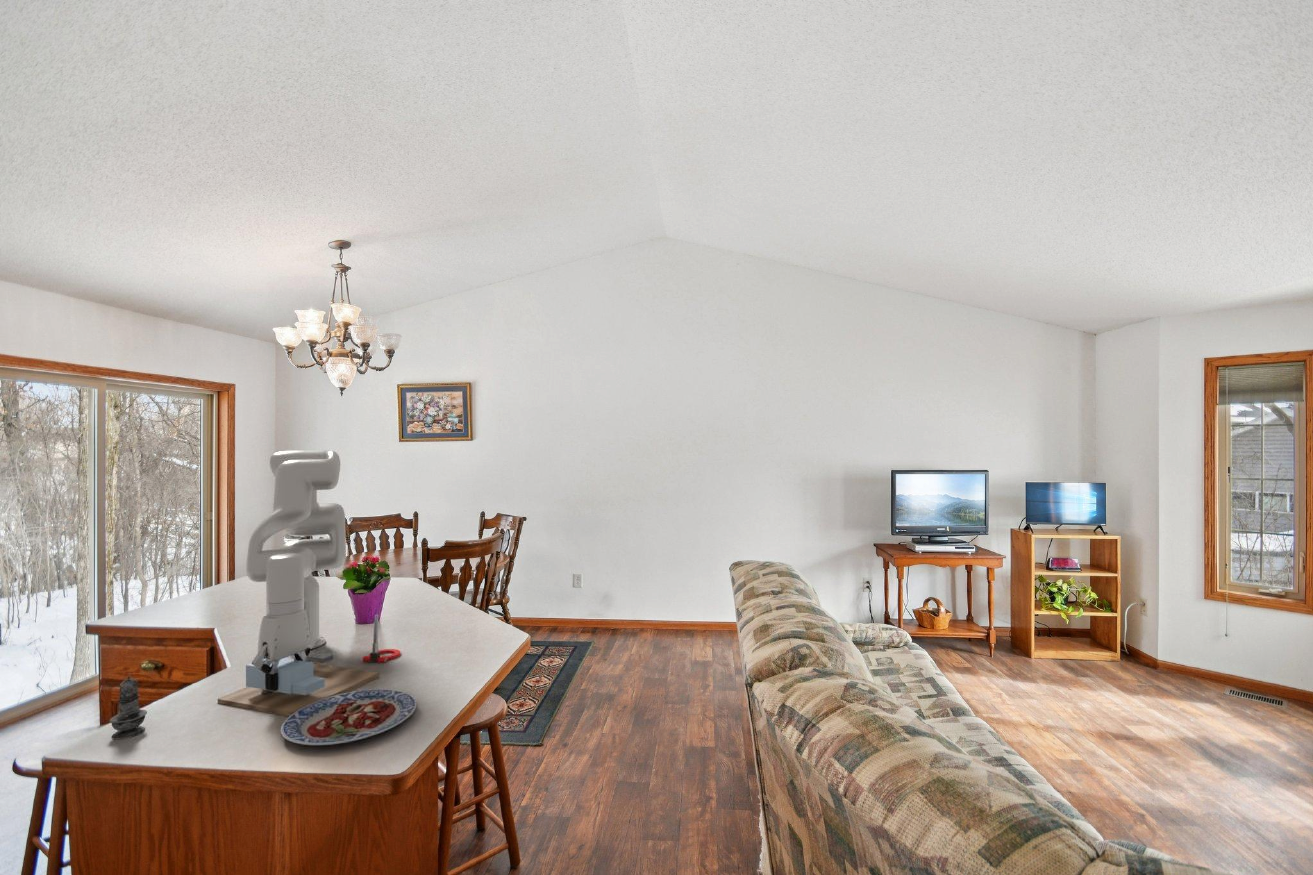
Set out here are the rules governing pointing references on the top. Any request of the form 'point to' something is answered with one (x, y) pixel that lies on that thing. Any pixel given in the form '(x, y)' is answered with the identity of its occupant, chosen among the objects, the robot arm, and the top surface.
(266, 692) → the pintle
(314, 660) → the bracket
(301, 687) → the link
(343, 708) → the ceramic plate
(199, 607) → the top surface
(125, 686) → the grey stone sculpture
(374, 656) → the tow hook
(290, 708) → the board
